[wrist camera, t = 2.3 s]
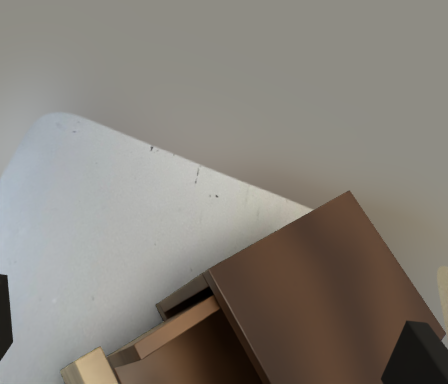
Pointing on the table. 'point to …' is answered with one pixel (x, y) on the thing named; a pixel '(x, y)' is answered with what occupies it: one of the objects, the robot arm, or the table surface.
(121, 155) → the table surface
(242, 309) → the cabinet
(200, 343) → the drawer
